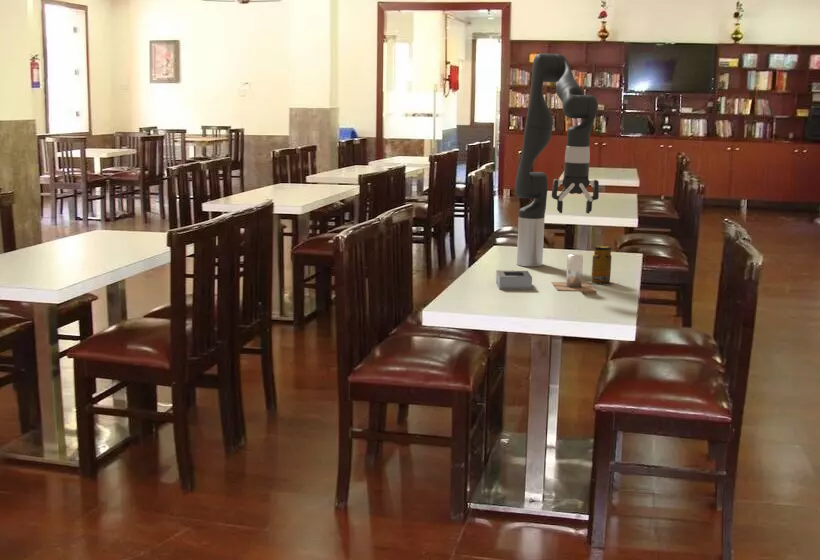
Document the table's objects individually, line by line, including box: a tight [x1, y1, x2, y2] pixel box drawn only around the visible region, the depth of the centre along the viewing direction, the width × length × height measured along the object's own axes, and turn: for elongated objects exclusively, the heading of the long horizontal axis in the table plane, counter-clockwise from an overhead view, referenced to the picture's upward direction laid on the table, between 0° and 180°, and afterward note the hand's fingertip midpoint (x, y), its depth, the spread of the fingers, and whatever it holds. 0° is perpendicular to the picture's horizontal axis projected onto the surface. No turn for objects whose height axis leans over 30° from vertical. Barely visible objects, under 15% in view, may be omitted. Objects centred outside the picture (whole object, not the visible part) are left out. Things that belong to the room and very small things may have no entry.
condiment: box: [587, 245, 620, 286], centre depth 302 cm, size 7×8×12 cm
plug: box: [566, 253, 584, 288], centre depth 290 cm, size 5×5×10 cm
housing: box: [495, 269, 533, 291], centre depth 290 cm, size 10×10×5 cm
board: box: [551, 281, 597, 295], centre depth 291 cm, size 12×12×1 cm
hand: (574, 212), depth 288 cm, fingers open, 8 cm apart
